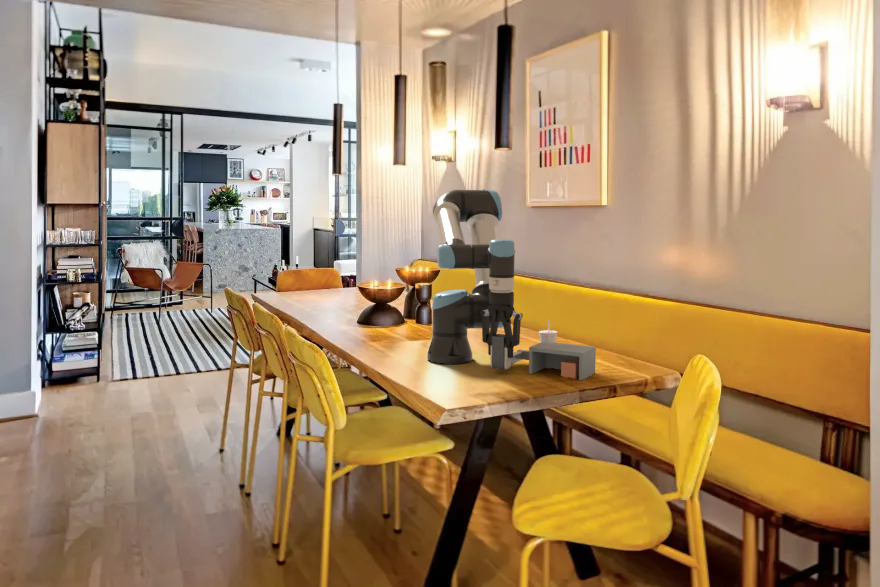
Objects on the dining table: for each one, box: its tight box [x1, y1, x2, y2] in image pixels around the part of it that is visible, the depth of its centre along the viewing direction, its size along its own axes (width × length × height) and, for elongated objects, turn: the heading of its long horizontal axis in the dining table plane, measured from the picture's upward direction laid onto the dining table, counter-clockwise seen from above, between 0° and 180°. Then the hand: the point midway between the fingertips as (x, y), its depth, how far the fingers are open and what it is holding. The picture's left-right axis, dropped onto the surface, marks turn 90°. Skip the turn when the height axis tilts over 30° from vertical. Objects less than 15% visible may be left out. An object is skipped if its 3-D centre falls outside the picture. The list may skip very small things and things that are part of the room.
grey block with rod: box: [491, 333, 529, 371], centre depth 203 cm, size 8×17×10 cm, turn 147°
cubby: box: [528, 342, 597, 381], centre depth 199 cm, size 17×11×8 cm, turn 57°
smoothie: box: [538, 318, 559, 343], centre depth 218 cm, size 6×6×14 cm
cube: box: [560, 359, 579, 379], centre depth 196 cm, size 4×4×4 cm
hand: (500, 366), depth 199 cm, fingers closed on grey block with rod, 4 cm apart
